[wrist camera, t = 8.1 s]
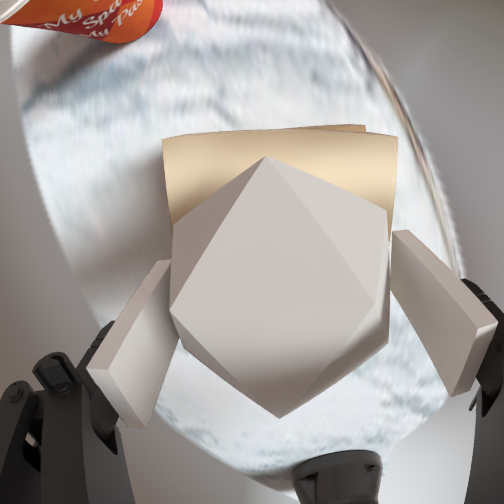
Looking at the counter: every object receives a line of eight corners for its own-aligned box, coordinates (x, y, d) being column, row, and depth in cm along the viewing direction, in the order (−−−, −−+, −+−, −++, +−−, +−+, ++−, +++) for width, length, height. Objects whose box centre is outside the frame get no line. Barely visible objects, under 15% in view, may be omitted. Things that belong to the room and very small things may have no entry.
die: (170, 212, 15) (138, 404, 11) (235, 73, 9) (187, 424, 4) (302, 251, 18) (305, 415, 14) (407, 165, 12) (460, 398, 7)
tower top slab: (357, 293, 20) (373, 329, 17) (201, 296, 21) (189, 333, 17) (370, 132, 16) (398, 136, 12) (183, 134, 16) (161, 139, 13)
